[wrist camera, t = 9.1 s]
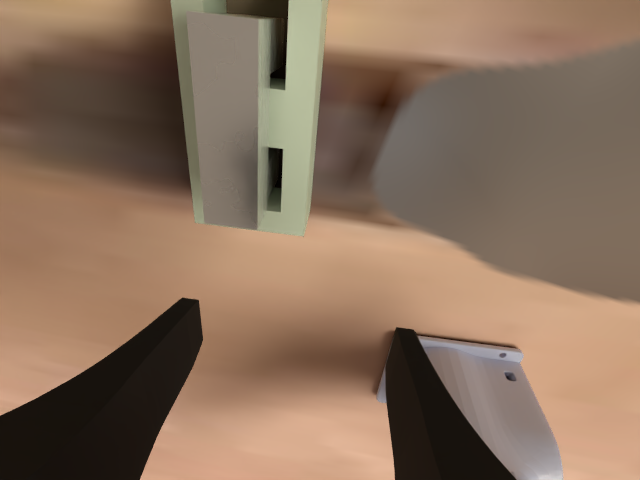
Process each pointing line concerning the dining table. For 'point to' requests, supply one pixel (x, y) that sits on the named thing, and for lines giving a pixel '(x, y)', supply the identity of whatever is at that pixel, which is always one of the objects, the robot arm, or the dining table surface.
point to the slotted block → (270, 110)
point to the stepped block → (234, 112)
